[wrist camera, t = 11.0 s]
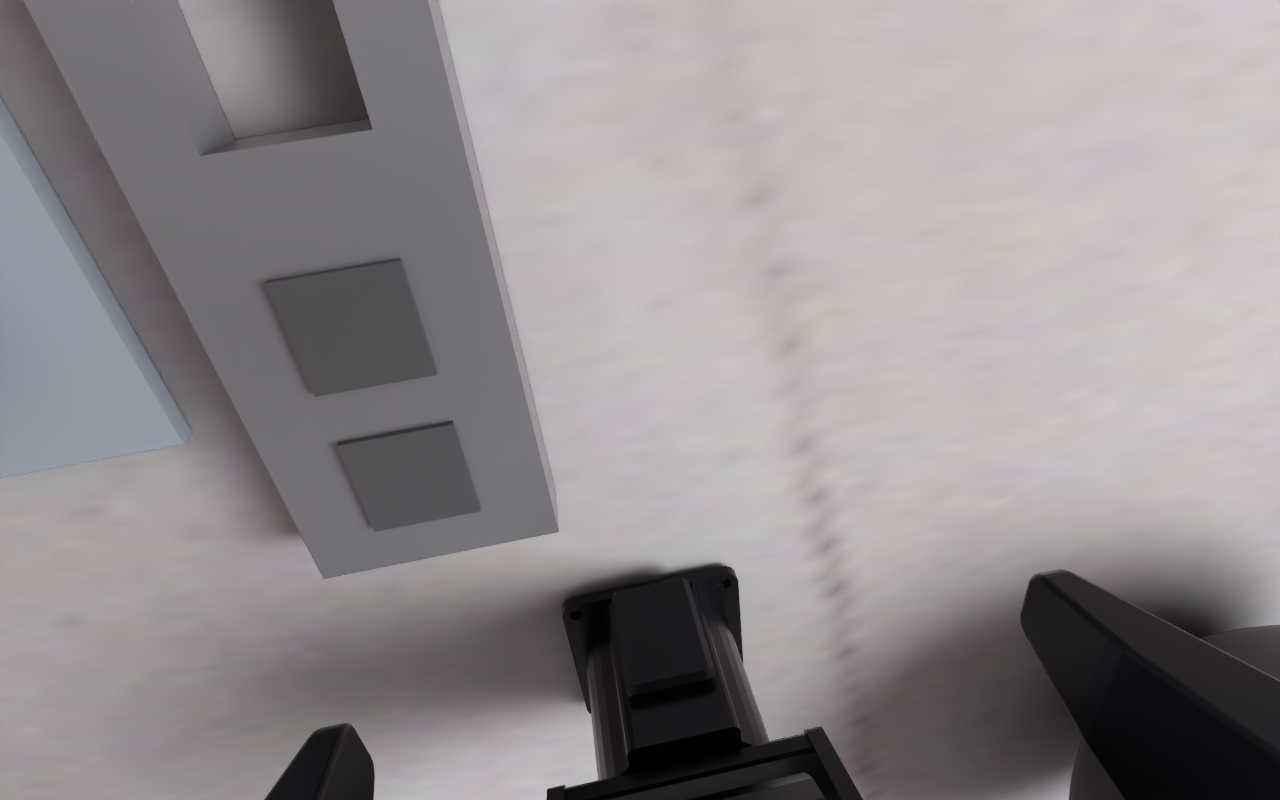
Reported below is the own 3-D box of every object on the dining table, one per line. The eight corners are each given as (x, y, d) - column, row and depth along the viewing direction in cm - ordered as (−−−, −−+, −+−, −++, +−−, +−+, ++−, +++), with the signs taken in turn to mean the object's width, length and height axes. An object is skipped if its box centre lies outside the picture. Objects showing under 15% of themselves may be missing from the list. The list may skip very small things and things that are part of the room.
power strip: (555, 491, 22) (560, 550, 19) (338, 532, 21) (316, 599, 19) (238, -836, 9) (142, -1125, 7) (-305, -811, 9) (-607, -1112, 6)
